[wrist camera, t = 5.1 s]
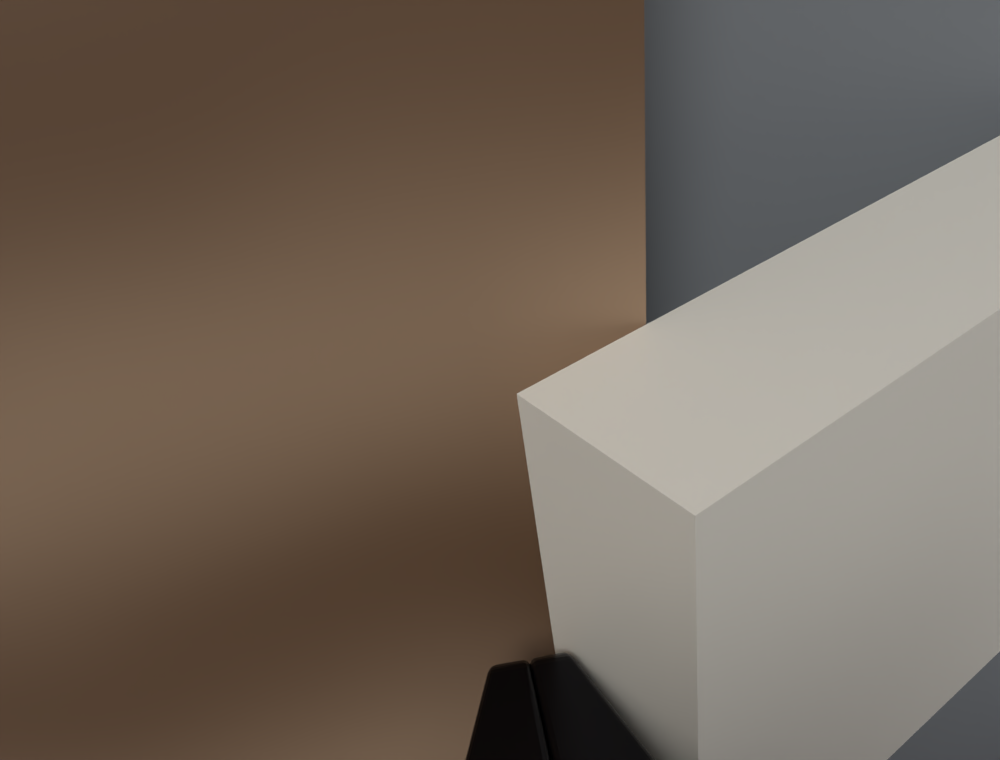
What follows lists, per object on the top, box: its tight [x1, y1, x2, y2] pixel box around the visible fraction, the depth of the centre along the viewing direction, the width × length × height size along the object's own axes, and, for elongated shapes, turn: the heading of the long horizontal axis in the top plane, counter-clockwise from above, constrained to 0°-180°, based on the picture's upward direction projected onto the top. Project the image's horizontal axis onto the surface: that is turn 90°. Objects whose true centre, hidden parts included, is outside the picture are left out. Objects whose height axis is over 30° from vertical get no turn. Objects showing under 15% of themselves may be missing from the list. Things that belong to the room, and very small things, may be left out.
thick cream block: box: [517, 136, 1000, 760], centre depth 10 cm, size 6×9×2 cm, turn 98°
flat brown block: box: [0, 0, 646, 760], centre depth 11 cm, size 22×14×4 cm, turn 5°
